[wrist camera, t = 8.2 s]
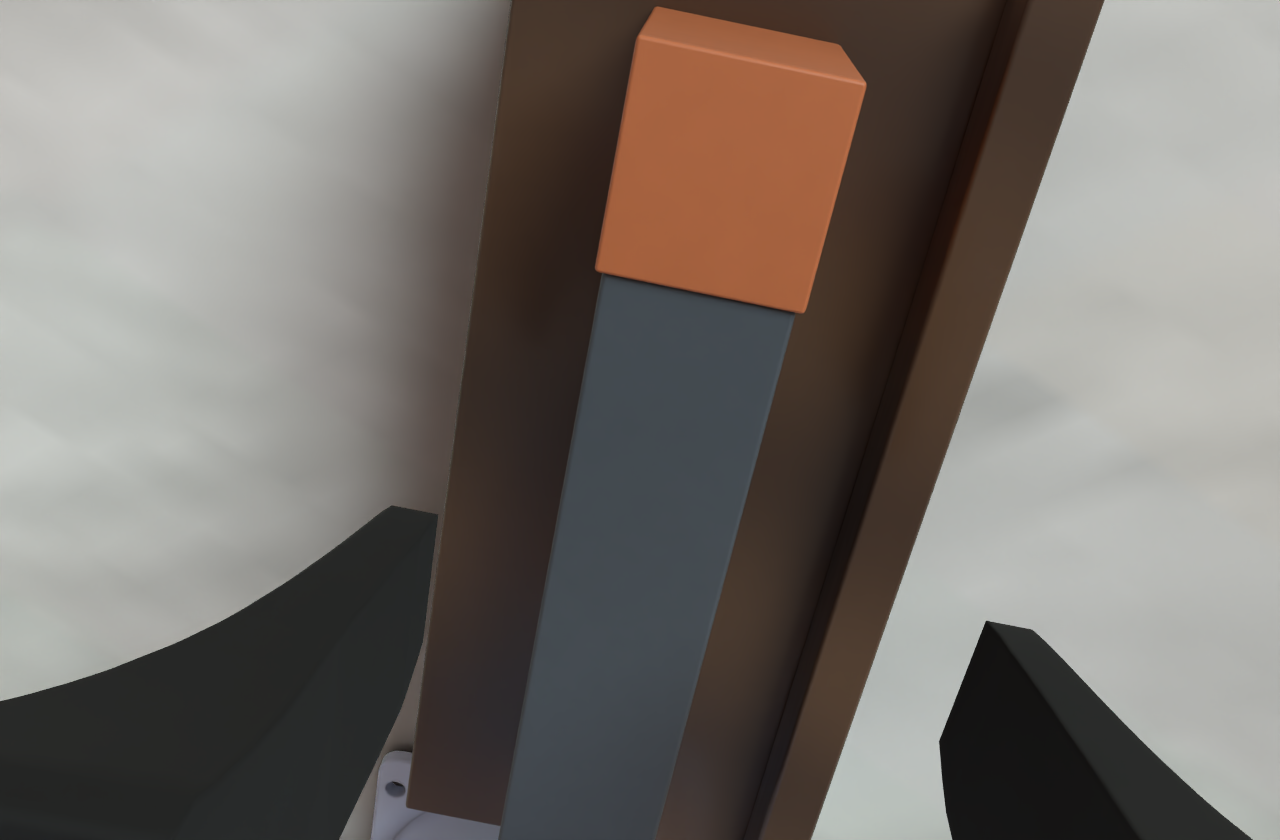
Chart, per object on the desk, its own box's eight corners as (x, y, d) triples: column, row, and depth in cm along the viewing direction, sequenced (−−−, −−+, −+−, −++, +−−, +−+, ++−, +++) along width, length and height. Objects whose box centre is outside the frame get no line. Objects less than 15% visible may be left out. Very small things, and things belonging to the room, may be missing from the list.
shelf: (770, 723, 28) (780, 930, 23) (456, 660, 28) (388, 854, 23) (1004, -38, 20) (1110, -9, 15) (571, -129, 20) (513, -135, 15)
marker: (647, 799, 23) (634, 944, 20) (512, 772, 23) (478, 914, 20) (841, 44, 16) (869, 81, 13) (654, 4, 16) (636, 33, 13)
